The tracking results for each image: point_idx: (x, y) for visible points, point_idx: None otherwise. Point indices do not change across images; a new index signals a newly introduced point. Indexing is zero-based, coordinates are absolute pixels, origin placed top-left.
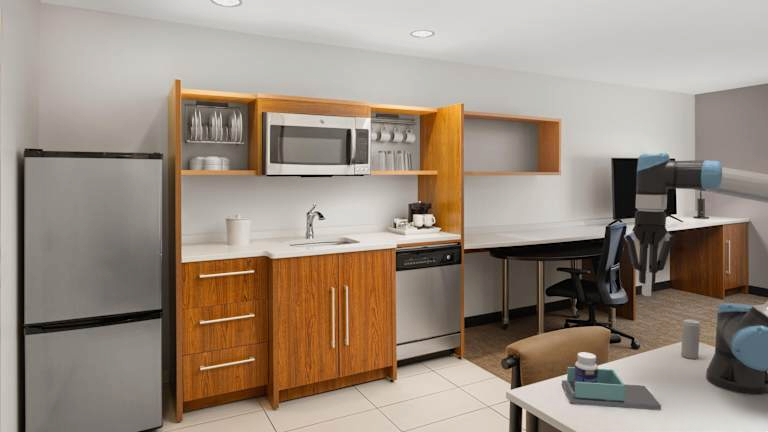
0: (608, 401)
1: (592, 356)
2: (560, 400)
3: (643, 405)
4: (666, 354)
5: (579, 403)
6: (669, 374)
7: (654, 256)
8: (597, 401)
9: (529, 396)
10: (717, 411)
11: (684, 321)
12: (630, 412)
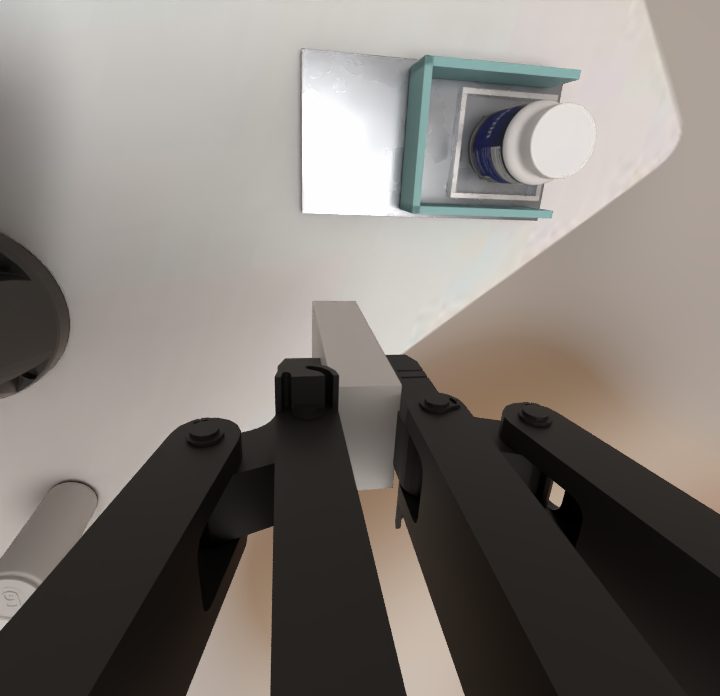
0: None
1: (548, 128)
2: (575, 97)
3: (355, 54)
4: None
5: None
6: (182, 349)
7: (336, 583)
8: None
9: (649, 117)
10: (112, 61)
11: None
12: (403, 24)
